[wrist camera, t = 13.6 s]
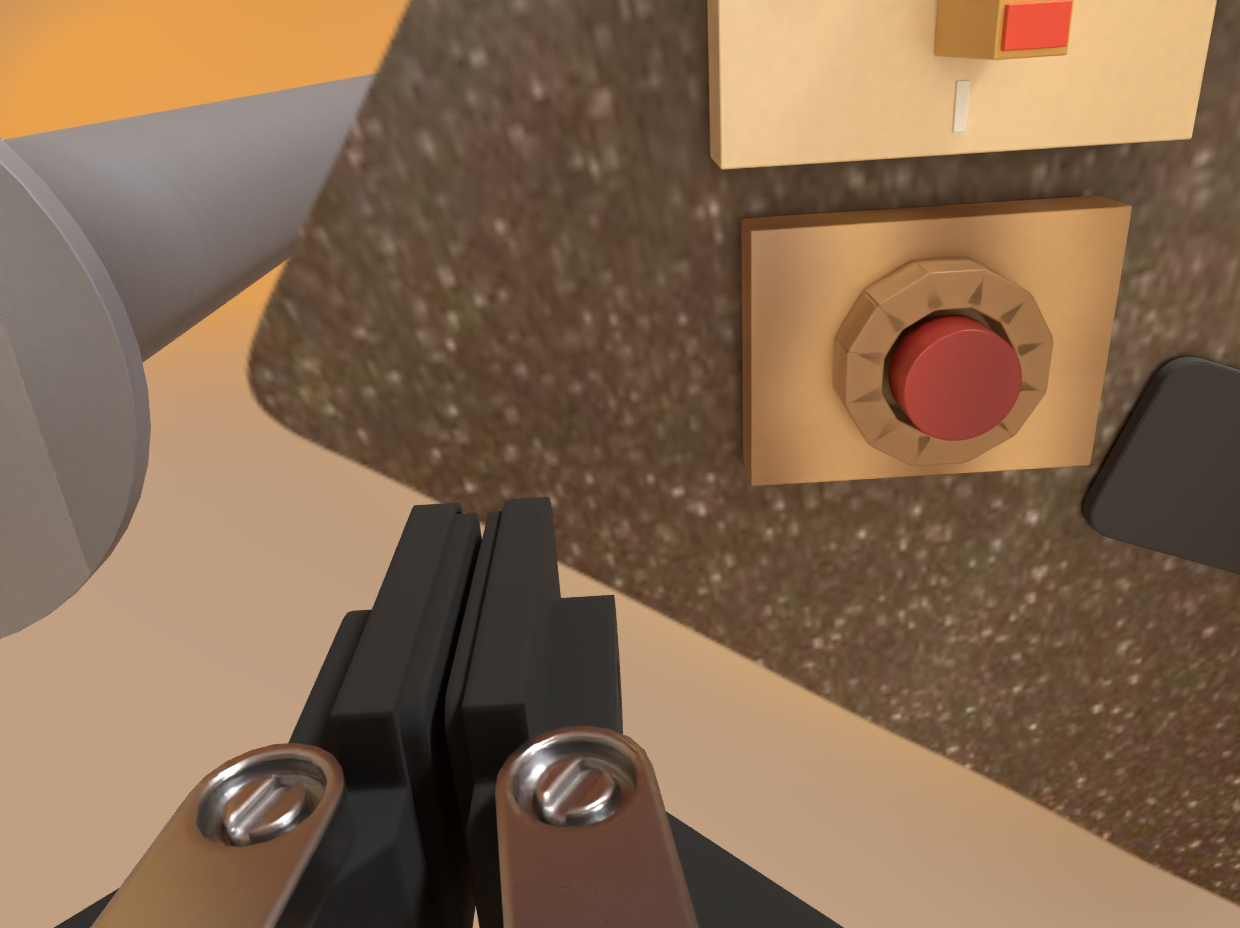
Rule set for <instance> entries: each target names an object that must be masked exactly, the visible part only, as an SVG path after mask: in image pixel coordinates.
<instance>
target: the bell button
mask: <svg viewBox="0 0 1240 928" xmlns="http://www.w3.org/2000/svg"><path fill="white" fill-rule="evenodd" d="M888 380H889V386H890V390H891V393H892V395H893V397H894V399H895V400H896V402H897V403H898V405H899V406H900V407H901V408H902V410H903V411H904V412H905V413H906V415H907V416H908V417H909V419H910V420H911V421H912V422H913V423H914V425H915V426H916V427H917V428H918V429H920V430H921V431H922V432H924V433H925V434H927V435H929V436H931V437H934V438H937V439H941V440H948V441H960V440H966V439H971V438H974V437H977V436H980V435H982V434H984V433H986V432H988V431H989V430H991V429H992V428H994V427H995V426H996V425H998V424H999V423H1000V422H1001V421H1002V420H1003V419H1004V418H1005V417H1006V416H1007V415H1008V413H1009V412H1010V411H1011V409H1012V408H1013V406H1014V405H1015V403H1016V400H1017V398H1018V396H1019V393H1020V389H1021V384H1022V369H1021V365H1020V361H1019V358H1018V356H1017V354H1016V352H1015V351H1014V349H1013V348H1012V347H1011V346H1010V344H1009V343H1008V342H1006V341H1005V340H1004V339H1003V338H1002V337H1000V336H999V335H998V334H996V333H995V332H994V331H992V330H991V329H990V328H988V327H987V326H986V325H985V324H983V323H982V322H980V321H978V320H976V319H974V318H972V317H968V316H965V315H958V314H949V315H941V316H937V317H934V318H931V319H929V320H926V321H924V322H922V323H920V324H919V325H917V326H916V327H914V328H913V329H912V330H911V331H910V332H908V333H907V334H906V335H905V336H904V338H903V339H902V340H901V341H900V343H899V344H898V346H897V347H896V349H895V351H894V353H893V355H892V358H891V361H890V365H889V372H888Z"/></svg>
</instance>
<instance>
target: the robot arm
mask: <svg viewBox="0 0 1240 928" xmlns="http://www.w3.org/2000/svg"><path fill="white" fill-rule="evenodd" d="M475 906H476V910H477V915H478V921H479V927H480V928H843V927H842V926H840V925H839V924H837V923H836V922H834V921H833V920H831V919H830V918H828V917H827V916H825V915H824V914H822V913H820V912H819V911H817V910H816V909H814V908H813V907H811V906H810V905H808V904H806V903H805V902H804V901H802V900H801V899H799V898H798V897H796V896H794V895H793V894H791V893H790V892H788V891H787V890H785V889H783V888H782V887H781V886H779V885H778V884H776V883H775V882H773V881H772V880H770V879H768V878H767V877H765V876H764V875H762V874H761V873H759V872H758V871H756V870H755V869H753V868H752V867H750V866H749V865H747V864H746V863H744V862H743V861H741V860H740V859H738V858H736V857H735V856H733V855H732V854H730V853H729V852H727V851H726V850H724V849H723V848H721V847H720V846H718V845H717V844H715V843H714V842H712V841H710V840H709V839H707V838H706V837H704V836H703V835H701V834H700V833H698V832H697V831H695V830H694V829H692V828H691V827H689V826H688V825H686V824H685V823H683V822H681V821H680V820H678V819H677V818H675V817H674V816H672V815H671V814H669V813H668V812H666V810H665V807H664V803H663V800H662V797H661V793H660V789H659V786H658V782H657V779H656V776H655V772H654V768H653V766H652V763H651V762H650V760H649V758H648V756H647V754H646V752H645V750H644V749H643V748H641V747H640V746H639V745H638V744H637V743H636V742H635V741H633V740H632V739H631V738H630V737H628V736H625V735H623V721H622V698H621V679H620V662H619V648H618V634H617V620H616V608H615V598H614V595H603V596H588V597H571V598H561V595H560V585H559V575H558V565H557V556H556V546H555V536H554V526H553V516H552V508H551V502H550V498H549V497H542V498H526V499H510V500H505V502H504V507H503V511H500V512H489V513H488V517H487V521H486V525H485V530H484V534H483V538H482V537H481V530H480V523H479V519H478V515H477V513H468V514H463V511H462V508H461V505H460V504H459V503H446V504H430V505H414V507H413V508H412V510H411V513H410V515H409V518H408V521H407V523H406V525H405V528H404V530H403V533H402V535H401V538H400V540H399V543H398V545H397V548H396V550H395V553H394V555H393V558H392V561H391V563H390V566H389V568H388V571H387V573H386V576H385V578H384V581H383V583H382V586H381V588H380V591H379V593H378V596H377V598H376V601H375V604H374V606H373V608H372V610H358V611H351V612H348V613H347V614H346V616H345V617H344V619H343V620H342V623H341V625H340V627H339V629H338V632H337V634H336V636H335V639H334V641H333V643H332V645H331V647H330V650H329V652H328V654H327V657H326V659H325V661H324V663H323V666H322V668H321V670H320V672H319V675H318V677H317V679H316V681H315V684H314V686H313V688H312V690H311V693H310V695H309V697H308V700H307V702H306V704H305V706H304V709H303V711H302V713H301V715H300V718H299V720H298V722H297V724H296V727H295V729H294V731H293V734H292V736H291V738H290V740H289V743H288V744H274V745H270V746H266V747H262V748H259V749H255V750H251V751H248V752H246V753H244V754H242V755H240V756H237V757H235V758H233V759H231V760H229V761H227V762H225V763H224V764H222V765H221V766H219V767H218V768H217V769H215V770H214V771H212V772H211V773H209V774H208V775H206V776H205V777H204V778H203V779H202V780H201V781H200V782H199V784H198V785H197V786H196V787H195V788H194V789H193V790H192V791H191V792H190V793H189V794H188V796H187V797H186V798H185V800H184V801H183V802H182V804H181V805H180V807H179V808H178V809H177V811H176V812H175V814H174V815H173V816H172V817H171V819H170V820H169V822H168V823H167V824H166V826H165V827H164V828H163V830H162V831H161V832H160V834H159V835H158V836H157V838H156V839H155V840H154V842H153V843H152V845H151V846H150V848H149V849H148V850H147V851H146V853H145V854H144V856H143V857H142V858H141V860H140V861H139V862H138V864H137V865H136V866H135V868H134V869H133V870H132V872H131V873H130V874H129V876H128V877H127V879H126V880H125V881H124V883H123V884H122V885H121V887H120V888H118V889H117V890H115V891H114V892H112V893H110V894H109V895H107V896H105V897H104V898H102V899H100V900H99V901H97V902H95V903H94V904H92V905H91V906H89V907H87V908H85V909H84V910H82V911H81V912H79V913H77V914H76V915H74V916H72V917H71V918H69V919H68V920H66V921H64V922H63V923H61V924H59V925H57V926H56V927H54V928H472V927H473V919H474V912H475Z"/></svg>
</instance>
